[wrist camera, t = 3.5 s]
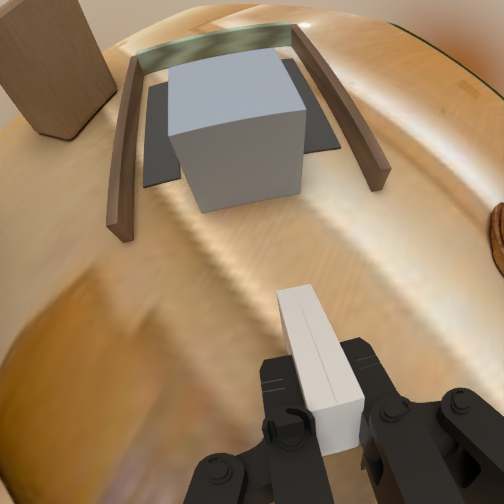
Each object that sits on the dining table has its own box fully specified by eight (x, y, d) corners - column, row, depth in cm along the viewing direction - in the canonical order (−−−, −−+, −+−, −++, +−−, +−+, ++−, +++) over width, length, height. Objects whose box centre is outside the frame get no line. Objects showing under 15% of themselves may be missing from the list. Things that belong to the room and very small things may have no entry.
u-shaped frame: (122, 242, 24) (102, 223, 21) (137, 73, 34) (129, 54, 31) (381, 189, 24) (393, 164, 20) (296, 41, 34) (296, 21, 31)
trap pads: (143, 188, 26) (142, 186, 26) (149, 88, 32) (148, 87, 32) (340, 148, 26) (340, 147, 25) (292, 59, 32) (292, 58, 32)
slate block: (202, 213, 24) (168, 136, 16) (194, 143, 27) (168, 67, 19) (299, 193, 24) (306, 109, 16) (276, 126, 27) (273, 47, 19)
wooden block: (79, 86, 35) (27, -13, 17) (121, 89, 33) (67, -35, 14) (35, 134, 32) (-35, 35, 14) (72, 144, 30) (-11, 17, 11)
